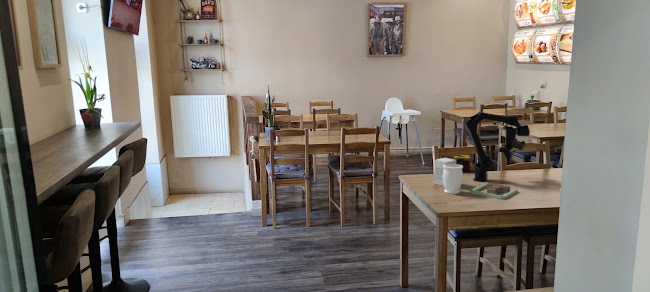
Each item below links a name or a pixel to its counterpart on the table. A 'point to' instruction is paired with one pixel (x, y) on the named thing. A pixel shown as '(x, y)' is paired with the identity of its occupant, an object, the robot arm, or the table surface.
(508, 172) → the table surface
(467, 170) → the yellow and brown box
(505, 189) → the t block
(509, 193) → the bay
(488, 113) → the robot arm
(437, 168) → the supplement box
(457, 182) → the jar
